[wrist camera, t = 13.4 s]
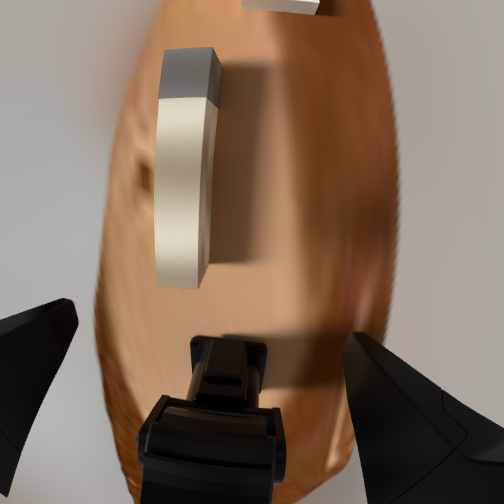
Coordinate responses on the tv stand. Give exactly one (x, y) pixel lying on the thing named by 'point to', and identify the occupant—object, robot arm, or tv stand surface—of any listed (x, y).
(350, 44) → the tv stand surface
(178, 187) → the curved white panel
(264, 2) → the tile
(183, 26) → the tv stand surface
